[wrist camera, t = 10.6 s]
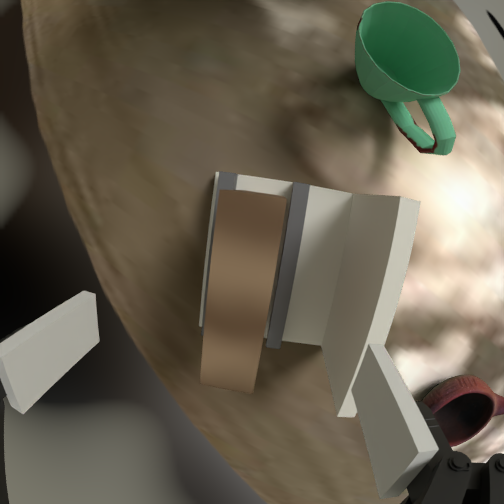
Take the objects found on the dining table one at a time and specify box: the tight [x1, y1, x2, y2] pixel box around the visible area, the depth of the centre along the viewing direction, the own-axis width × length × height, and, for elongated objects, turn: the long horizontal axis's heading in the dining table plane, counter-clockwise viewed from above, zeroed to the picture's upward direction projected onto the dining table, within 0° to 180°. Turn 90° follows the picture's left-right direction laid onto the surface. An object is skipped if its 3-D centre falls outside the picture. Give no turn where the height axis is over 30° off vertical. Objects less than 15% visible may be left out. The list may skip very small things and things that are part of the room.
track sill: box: [199, 171, 420, 417], centre depth 25 cm, size 17×16×13 cm
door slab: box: [200, 189, 287, 394], centre depth 24 cm, size 14×4×12 cm, turn 172°
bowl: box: [422, 374, 504, 447], centre depth 29 cm, size 16×13×8 cm
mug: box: [355, 1, 460, 155], centre depth 22 cm, size 15×10×10 cm
